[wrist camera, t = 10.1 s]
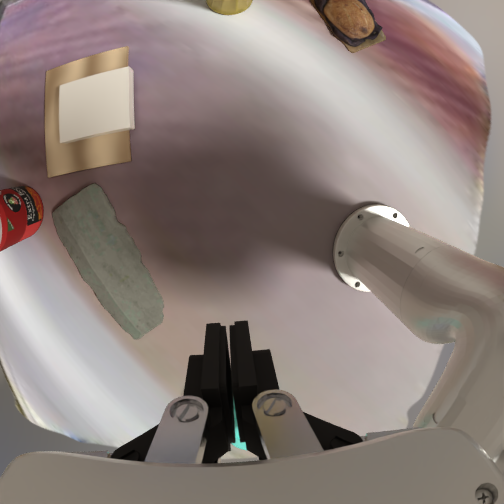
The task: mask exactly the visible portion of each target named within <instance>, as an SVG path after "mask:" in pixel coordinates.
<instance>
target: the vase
mask: <svg viewBox="0 0 504 504" xmlns="http://www.w3.org/2000/svg"><path fill="white" fill-rule="evenodd" d="M206 2H207V4H208V6H209V7H210V8H211V9H212V10H213V11H215V12H217V13H220V14H224V15H234V14H238V13H241V12H243V11H245V10H246V9H248V8H249V7H250V5H251V3H252V0H206Z"/></svg>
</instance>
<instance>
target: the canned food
mask: <svg viewBox="0 0 504 504" xmlns="http://www.w3.org/2000/svg"><path fill="white" fill-rule="evenodd" d="M42 220H43V204H42V200H41V198H40V196H39V195H38V193H37V192H36V191H35V190H34V189H32V188H30V187H27V186H19V187H14V188H9V189H4V190H0V251H2V250H4V249H6V248H8V247H10V246H12V245H14V244H16V243H18V242H20V241H22V240H24V239H26V238H28V237H30V236H32V235H33V234H34V233H35V232H36V231H37V230H38V228H39V227H40V225H41V223H42Z"/></svg>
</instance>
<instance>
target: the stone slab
mask: <svg viewBox="0 0 504 504" xmlns="http://www.w3.org/2000/svg"><path fill="white" fill-rule="evenodd" d="M52 216H53V219H54V225H55V226H56V229H57V233H58V235H59V238H60V240H61V241H62V242H63V245H64V246H65V247H66V249H67V250H68V252H69V254H70V257H71V258H72V259H73V260H74V262H75V265H76V266H77V268H78V270H79V272H80V274H81V276H82V278H83V280H84V281H85V282H86V283H87V284H88V285H89V286H90V287H91V288H92V289H93V291H94V292H95V294H96V296H97V298H98V299H99V301H100V303H101V304H102V305H103V307H104V309H106V310H107V311H108V312H109V313H110V314H111V316H112V317H113V318H114V319H115V321H116V322H117V323H119V324H120V326H121V327H122V328H123V329H124V330H125V331H126V332H127V333H129V334H130V335H131V336H132V337H133V338H134V339H140V338H141V337H142V336H144V335H145V334H146V333H148V332H149V331H151V330H152V329H153V328H155V327H156V326H158V325H159V324H161V323H162V321H163V317H164V315H163V312H162V311H163V308H164V304H163V298H162V296H161V295H160V293H159V291H158V290H157V288H156V286H155V284H154V282H153V280H152V278H151V276H150V273H149V271H148V270H147V268H146V267H145V266H144V265H143V264H142V261H141V253H140V251H139V250H138V248H137V247H136V246H135V244H134V241H133V239H132V238H131V236H130V235H129V234H128V232H127V230H126V227H125V226H124V225H122V224H120V223H119V222H118V221H117V219H116V216H115V211H114V208H113V207H112V205H111V203H110V202H109V200H108V198H107V196H106V194H105V193H104V192H103V191H102V188H101V187H100V186H98V185H97V184H91V185H89V186H88V187H86V188H84V189H83V190H81V191H80V192H79V193H78V194H76V195H74V196H72V197H71V198H70V199H68V200H67V201H66V202H64V203H63V204H62V205H61V206H59V207H58V208H57V209H56V210H55V211H54V212H53V214H52Z"/></svg>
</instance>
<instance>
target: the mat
mask: <svg viewBox="0 0 504 504" xmlns="http://www.w3.org/2000/svg"><path fill="white" fill-rule="evenodd" d="M128 50H129V47H128V46H126V47H122V48H118V49H114V50H110V51H106V52H103V53H99V54H96V55H92V56H89V57H86V58H82V59H79V60H76V61H73V62H70V63H67V64H64V65H62V66H59V67H56V68H54V69H51V70H48V71H46V85H45V146H46V162H47V174H48V178H50V177H54V176H58V175H62V174H67V173H71V172H76V171H81V170H86V169H91V168H96V167H101V166H106V165H112V164H118V163H124V162H130V161H131V148H130V132H129V130H127V131H121V132H116V133H111V134H106V135H101V136H97V137H92V138H88V139H84V140H79V141H75V142H71V143H68V144H66V143H60V133H59V89H60V85H63V84H66V83H69V82H72V81H75V80H78V79H82V78H85V77H88V76H92V75H95V74H99V73H103V72H107V71H111V70H115V69H119V68H124V67H128Z"/></svg>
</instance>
